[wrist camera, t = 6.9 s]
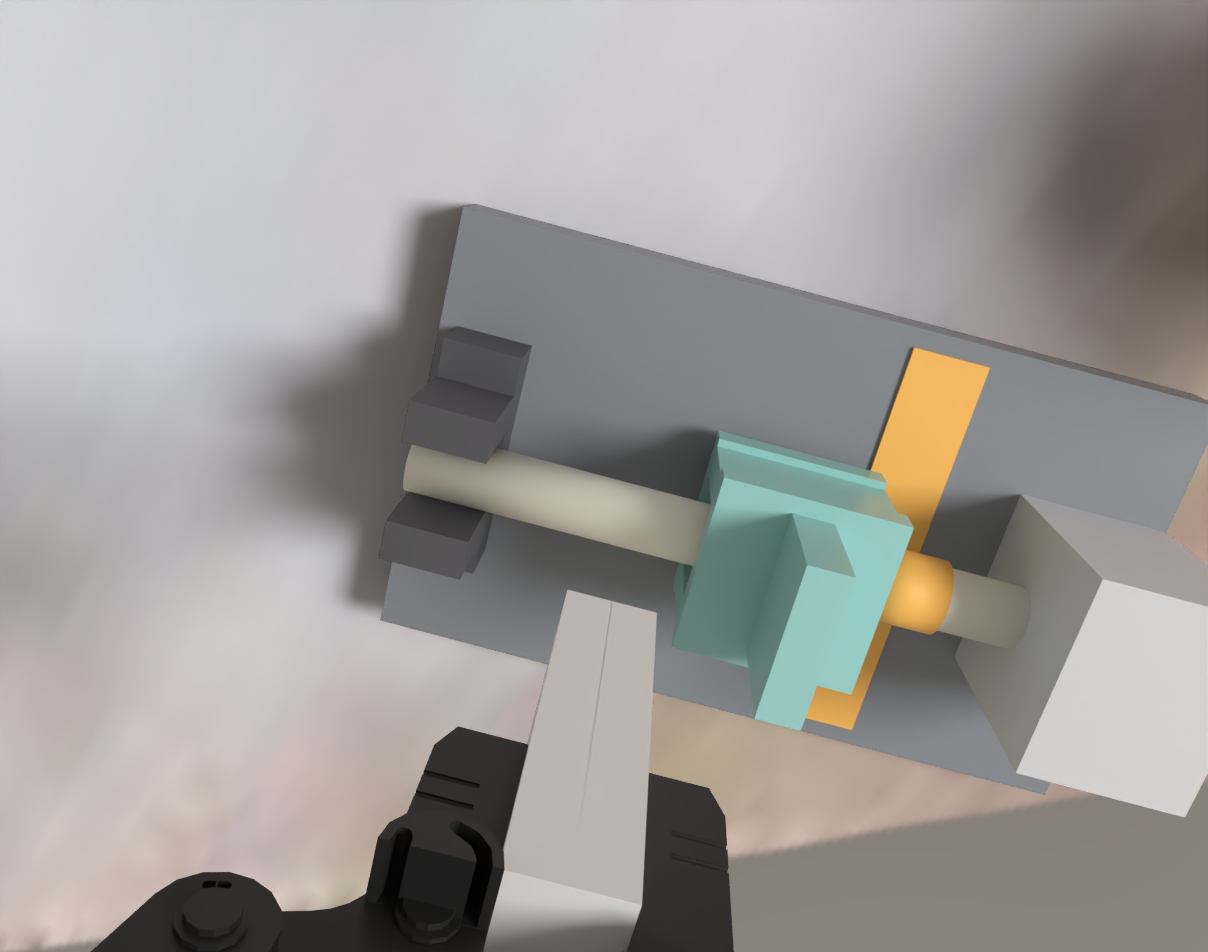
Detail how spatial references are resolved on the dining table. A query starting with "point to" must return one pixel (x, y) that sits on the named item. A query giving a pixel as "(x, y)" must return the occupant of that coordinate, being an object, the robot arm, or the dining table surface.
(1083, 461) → the cable board
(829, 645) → the sleeve
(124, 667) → the dining table surface
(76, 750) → the dining table surface
